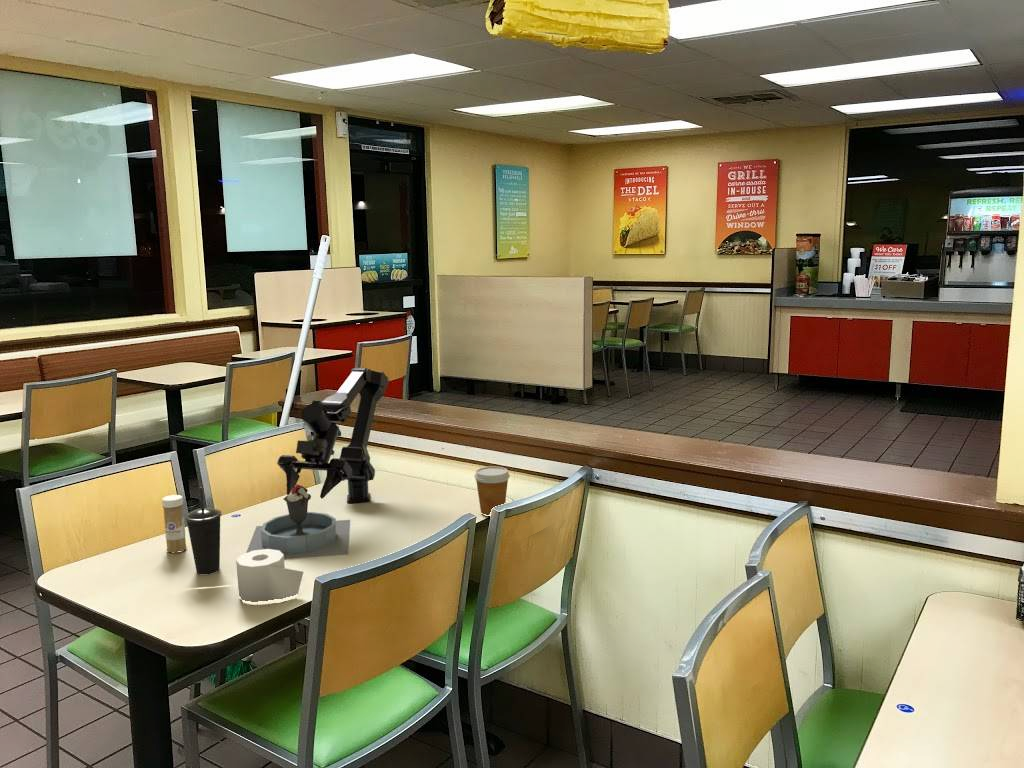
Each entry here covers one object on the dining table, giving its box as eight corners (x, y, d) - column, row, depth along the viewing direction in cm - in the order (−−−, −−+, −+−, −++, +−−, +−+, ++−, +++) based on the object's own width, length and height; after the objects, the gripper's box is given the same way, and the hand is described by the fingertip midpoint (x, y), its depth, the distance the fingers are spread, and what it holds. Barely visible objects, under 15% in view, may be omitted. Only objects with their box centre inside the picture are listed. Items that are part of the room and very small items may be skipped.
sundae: (292, 543, 194) (288, 484, 191) (281, 535, 199) (277, 477, 196) (317, 536, 198) (314, 478, 195) (307, 529, 203) (303, 472, 200)
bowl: (267, 529, 205) (266, 514, 205) (337, 524, 208) (336, 510, 208) (258, 555, 188) (257, 539, 188) (334, 550, 191) (333, 534, 191)
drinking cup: (217, 562, 186) (210, 479, 182) (232, 571, 181) (225, 486, 177) (184, 572, 181) (176, 487, 177) (198, 581, 175) (191, 494, 172)
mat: (256, 527, 208) (256, 526, 208) (350, 521, 212) (350, 519, 212) (242, 564, 185) (242, 562, 185) (348, 555, 189) (347, 554, 189)
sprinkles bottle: (165, 555, 191) (160, 501, 188) (167, 548, 195) (162, 495, 193) (186, 552, 192) (181, 499, 190) (188, 545, 196) (183, 493, 194)
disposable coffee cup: (517, 512, 217) (516, 470, 215) (492, 522, 210) (492, 478, 208) (492, 505, 223) (491, 463, 221) (467, 514, 216) (466, 471, 214)
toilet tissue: (305, 599, 166) (302, 560, 165) (238, 608, 163) (234, 568, 161) (304, 582, 175) (301, 545, 173) (240, 590, 171) (237, 552, 170)
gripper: (278, 424, 204) (257, 479, 196) (344, 428, 199) (326, 484, 191) (296, 446, 213) (276, 499, 205) (360, 450, 208) (343, 504, 200)
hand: (304, 496), depth 200 cm, fingers open, 9 cm apart
